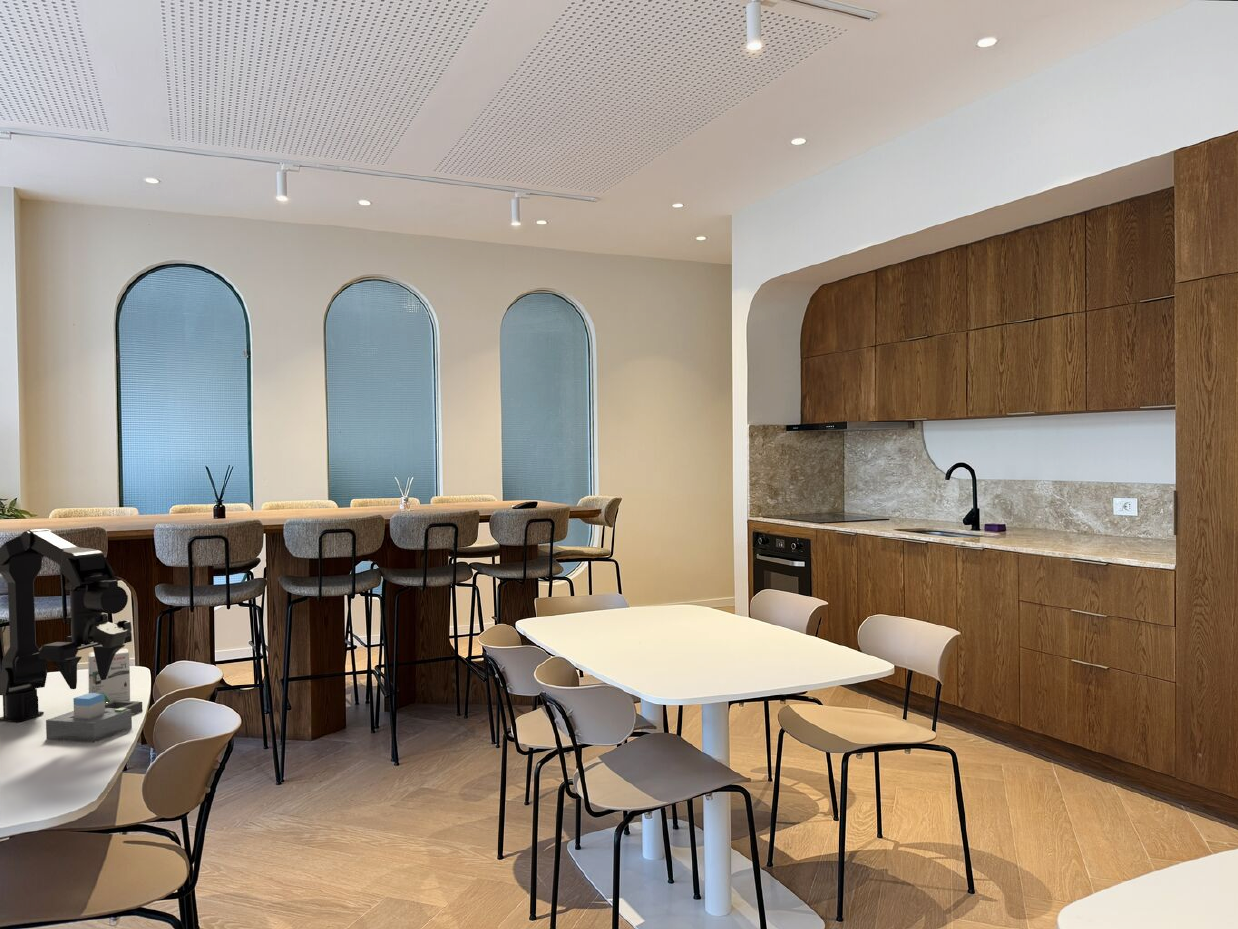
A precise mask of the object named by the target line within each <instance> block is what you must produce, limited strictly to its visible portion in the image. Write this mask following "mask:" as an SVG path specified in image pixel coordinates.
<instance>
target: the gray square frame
mask: <svg viewBox="0 0 1238 929" xmlns="http://www.w3.org/2000/svg"><path fill="white" fill-rule="evenodd" d="M105 708H117V709H119V708H127V709H131V714H132V715H134V714H137V713H140V712H142V711H143V701H138V700H137V701H135V700H125V701H118V700H114V701H111V702H108V703H105Z"/></svg>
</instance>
